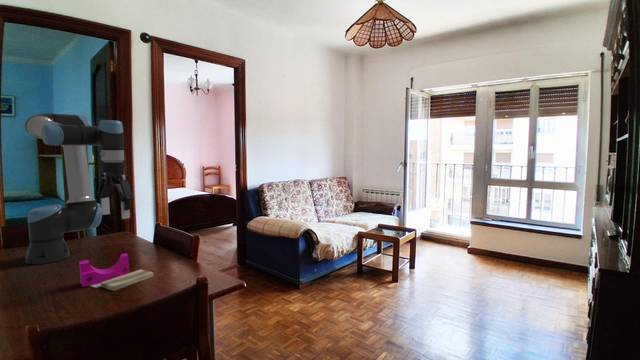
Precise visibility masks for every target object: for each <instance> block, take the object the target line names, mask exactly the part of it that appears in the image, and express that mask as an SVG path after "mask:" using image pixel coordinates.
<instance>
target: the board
mask: <svg viewBox="0 0 640 360" xmlns="http://www.w3.org/2000/svg"><path fill="white" fill-rule="evenodd" d="M153 277H154V272H153V271H149V270H144V269H137V270H135V271H132V272H129V273H128V274H125V275H122V276H119V277H116V278H113V279H110V280H107V281H104V282H101V286H100V288H103V289H107V290H110V291H119V290H120V289H123V288H126V287H128V286H131V285H133V284H136V283H140V282H141V281H144V280H147V279H150V278H153Z"/></svg>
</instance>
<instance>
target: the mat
mask: <svg viewBox="0 0 640 360" xmlns="http://www.w3.org/2000/svg"><path fill="white" fill-rule="evenodd" d="M79 284H81V281H79ZM89 287H91V288H94V289H98V288H101V283H99V284H94V285H90V286H89Z"/></svg>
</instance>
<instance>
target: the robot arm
mask: <svg viewBox="0 0 640 360" xmlns="http://www.w3.org/2000/svg"><path fill="white" fill-rule="evenodd" d="M24 127H25V131H26V132H27V133H28V134H29V136H31V137H33V138H36V139H39V140H42V142H43V144H45V145H47V146H61V147H62V148H63V156H64V163H65V174H66V182H67V191H68V193H67V194H68V200H66V201H65V206H62V205H61V204H58V203H57V204H50V205H44V206H43V205H42V206H38V207H36V208H32V209H30V210H29V211H28V212H27V221H26V222H27V227H28V237H29V238H28V239H29V246H28V249H27V252H26V254H25V263H26V264H28V265H43V264H51V263H55V262H59V261H62V260H65V259H68V258H69V257H70V256H71V254H70V249H69V247H68V245H67V243H66V240H65V239H64V234H65V233H72V232H79V231H83V230H85V231H87V230H91V229H95V228H97V227H99V226H100V224H101V222H102V218H103V216H104V215H111V210H110V209H111V208H110V192H111V190H112V188H115V189H116V191H117V192H118V195H119V197H120V198H121V201H120V208H121V211H120V212H121V219H122V220H125V219H130V218H131V212H130V211H131V210H130V209H131V208H130V206H131V205H130V202H131V201H132V200H134V195H133V193H132V189H131V187H130V184H129V180H128V174H122V173H123V172H125V170H126V169H125V162H124V161H125V148H124V145H125V144H124V127H123V123H122V121H120V120H113V119H112V120H109V119H107V120H105V119H102V120H99V123H98V125H92V123H91V121H90V120H89V118H87V116H85V115H78V114H67V113H66V114H64V113H48V112H47V113H46V112H45V113H38V114H34V115H32V116H29V118H27V119H26V121H25V123H24ZM87 146H97V147H98V146H99V147H100V153H99V155H100V160H101V161H102V162H101V164H100V165H101V172H102V173H100V176H99V177H100V180H99V184H98V189H97V193H96V196H97V197H99V199H100V203H98V202H97V199H95V198H94V197H92V191H91V181H90V174H89V172H90V171H89V164H88V155H87Z"/></svg>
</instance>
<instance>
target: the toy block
mask: <svg viewBox="0 0 640 360" xmlns="http://www.w3.org/2000/svg"><path fill="white" fill-rule="evenodd" d="M129 259H130V258H129V254H128V253H127V252H125V253H121V254H120V256H119V258H118V260H117V262H116V263H115V264H114V265H112V266H110V267H108V268H105V269H104V268H103V269H99V268H95V267H94V266H92V265H91V264H90V261H89V259H86V260H80V261H79V262H78V263H79V276H80V277H79V278H80V282H81V283H80V284H81V286H82V288H85V287H91V286H90V285H94V284H99V283H101V282H104V281H107V280H110V279H113V278H116V277H119V276H122V275H125V274H128V273H130V263H129V262H130V260H129Z"/></svg>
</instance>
